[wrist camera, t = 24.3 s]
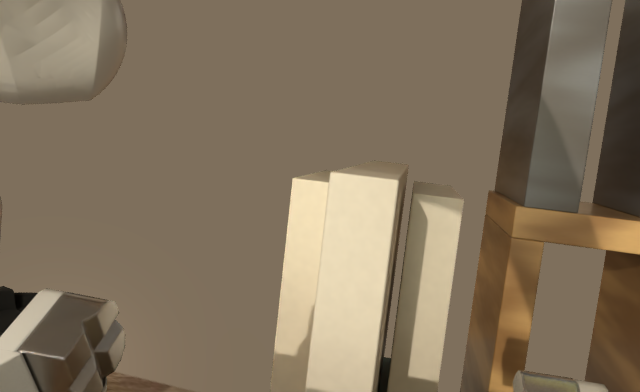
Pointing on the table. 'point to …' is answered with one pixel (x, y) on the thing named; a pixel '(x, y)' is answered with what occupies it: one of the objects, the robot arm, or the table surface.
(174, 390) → the table surface
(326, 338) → the white book
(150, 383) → the table surface
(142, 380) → the table surface
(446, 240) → the cream teal blocky piece
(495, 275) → the book stand
